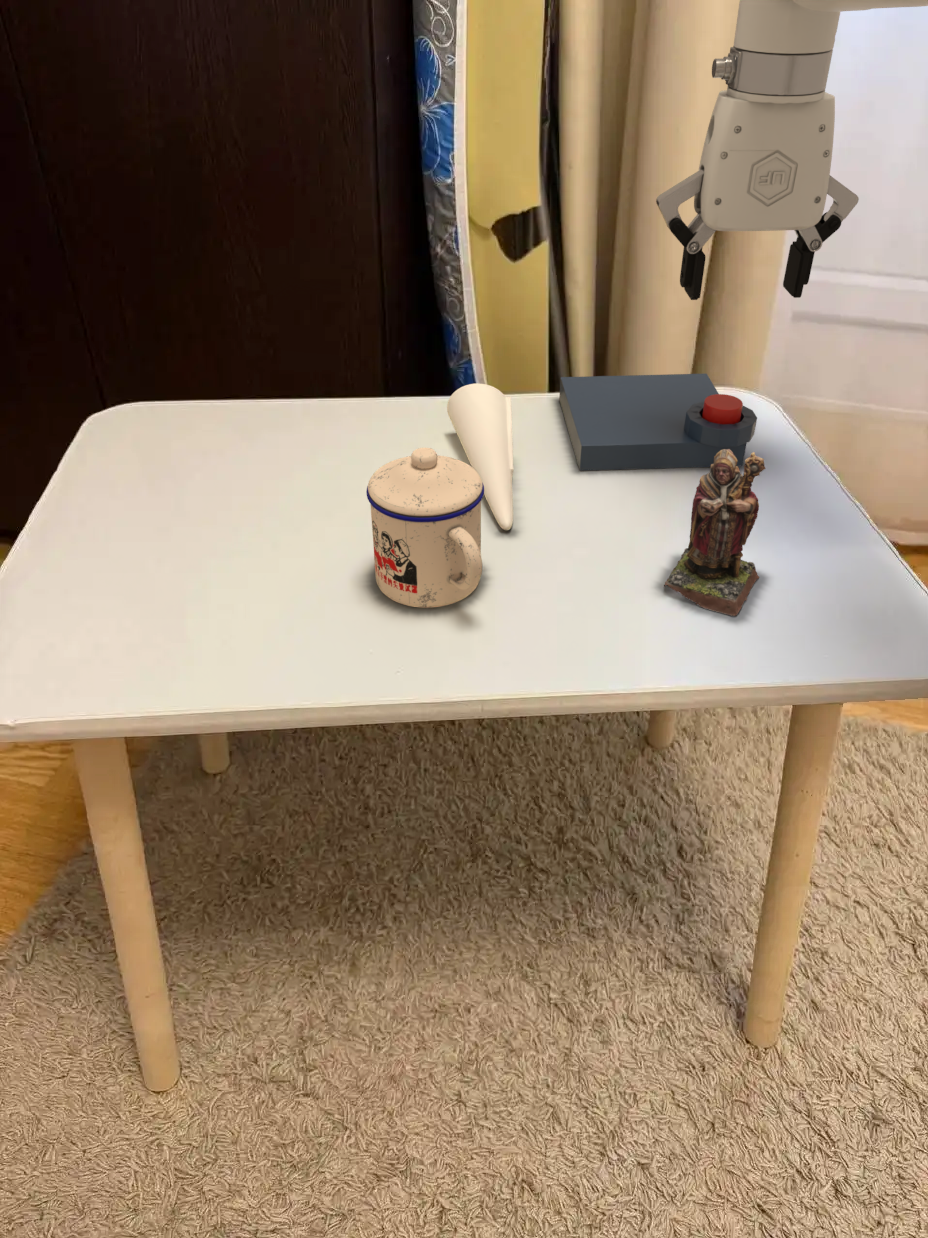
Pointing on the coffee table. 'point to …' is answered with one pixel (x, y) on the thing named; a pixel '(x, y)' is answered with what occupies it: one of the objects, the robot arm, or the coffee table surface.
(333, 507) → the coffee table surface
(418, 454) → the teacup with lid
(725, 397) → the button
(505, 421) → the long cone
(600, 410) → the button box
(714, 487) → the figurine
